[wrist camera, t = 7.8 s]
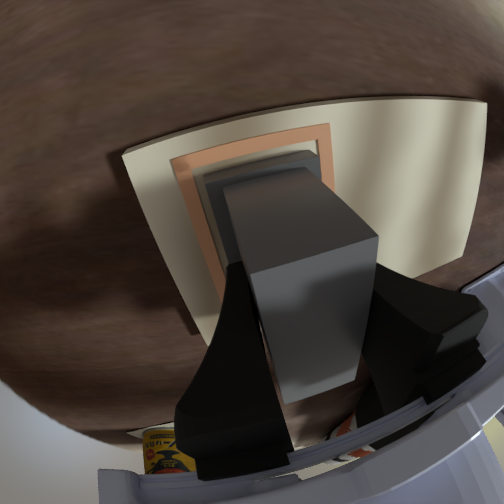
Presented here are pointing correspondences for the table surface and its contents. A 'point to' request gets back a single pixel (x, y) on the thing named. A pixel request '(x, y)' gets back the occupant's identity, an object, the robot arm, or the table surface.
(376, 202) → the board
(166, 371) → the table surface
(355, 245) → the block
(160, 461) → the condiment
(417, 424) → the striped banded cylinder
